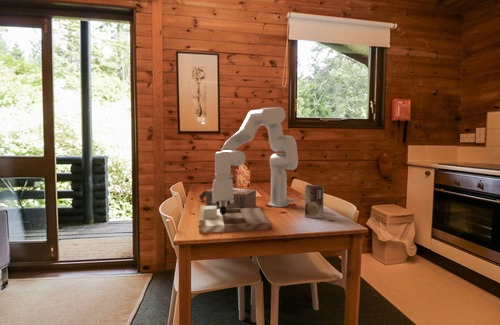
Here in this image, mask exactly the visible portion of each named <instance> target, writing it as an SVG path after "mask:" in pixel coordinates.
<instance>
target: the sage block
mask: <svg viewBox="0 0 500 325" xmlns="http://www.w3.org/2000/svg"><path fill="white" fill-rule="evenodd" d="M217 209H218V208H217V206H206V205H204V218H217Z"/></svg>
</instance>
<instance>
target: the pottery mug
mask: <svg viewBox="0 0 500 325" xmlns="http://www.w3.org/2000/svg"><path fill="white" fill-rule="evenodd" d="M207 190H208V189H207ZM207 190H205V191H203V192H202V193H201V194H199V195H198V196H199V200H201V201H203V200H204V199H205V197H206V191H207Z"/></svg>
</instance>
